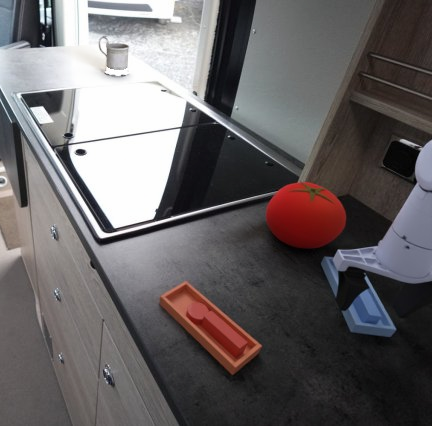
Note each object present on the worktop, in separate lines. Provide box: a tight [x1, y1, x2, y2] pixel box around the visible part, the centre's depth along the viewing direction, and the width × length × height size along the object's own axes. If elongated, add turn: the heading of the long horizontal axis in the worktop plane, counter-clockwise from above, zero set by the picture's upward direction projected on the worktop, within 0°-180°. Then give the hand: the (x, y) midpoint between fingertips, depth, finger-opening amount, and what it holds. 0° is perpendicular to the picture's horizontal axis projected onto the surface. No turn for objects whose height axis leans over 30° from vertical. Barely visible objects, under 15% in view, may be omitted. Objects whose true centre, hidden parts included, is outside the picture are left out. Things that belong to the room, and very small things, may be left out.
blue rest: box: [320, 256, 397, 338], centre depth 56 cm, size 14×5×2 cm, turn 172°
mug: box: [98, 35, 130, 70], centre depth 142 cm, size 14×10×12 cm
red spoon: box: [186, 302, 248, 358], centre depth 50 cm, size 9×3×2 cm, turn 36°
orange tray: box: [158, 280, 263, 376], centre depth 51 cm, size 14×5×2 cm, turn 36°
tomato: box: [265, 180, 347, 250], centre depth 64 cm, size 11×12×10 cm
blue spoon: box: [353, 290, 382, 324], centre depth 54 cm, size 9×3×2 cm, turn 172°
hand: (368, 308), depth 52 cm, fingers open, 7 cm apart
